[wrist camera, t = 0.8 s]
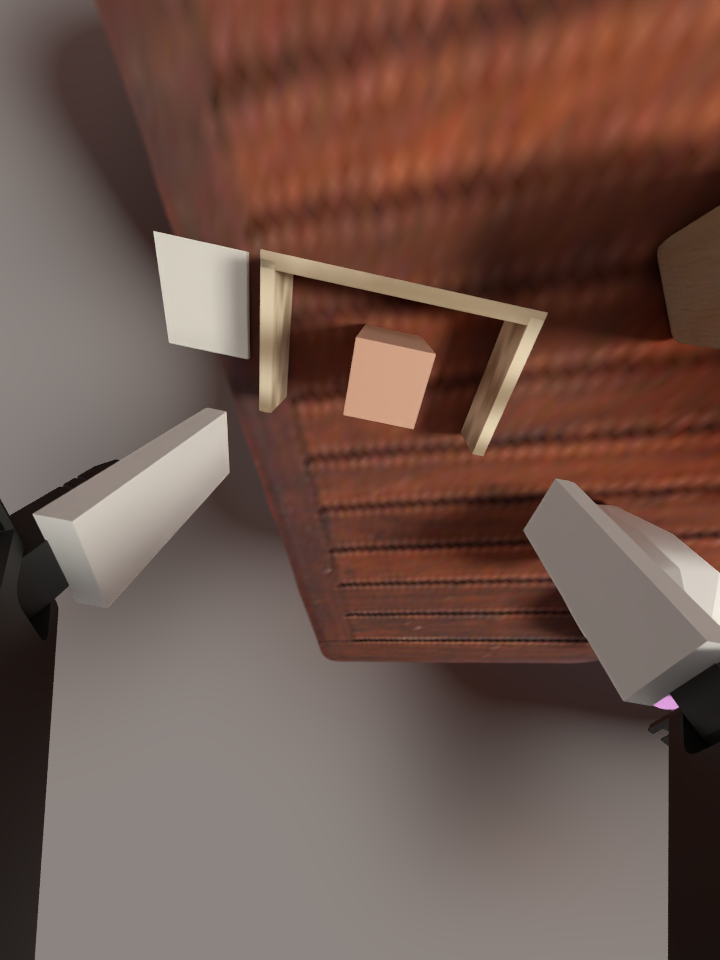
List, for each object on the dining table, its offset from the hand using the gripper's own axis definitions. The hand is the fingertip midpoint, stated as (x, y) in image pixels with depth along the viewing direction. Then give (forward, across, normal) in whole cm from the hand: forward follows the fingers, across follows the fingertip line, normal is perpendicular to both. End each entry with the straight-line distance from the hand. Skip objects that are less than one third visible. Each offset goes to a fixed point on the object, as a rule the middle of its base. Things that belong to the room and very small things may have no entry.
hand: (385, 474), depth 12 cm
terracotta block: (+26, 0, 0) cm, 26 cm away
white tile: (+25, -20, +2) cm, 32 cm away
